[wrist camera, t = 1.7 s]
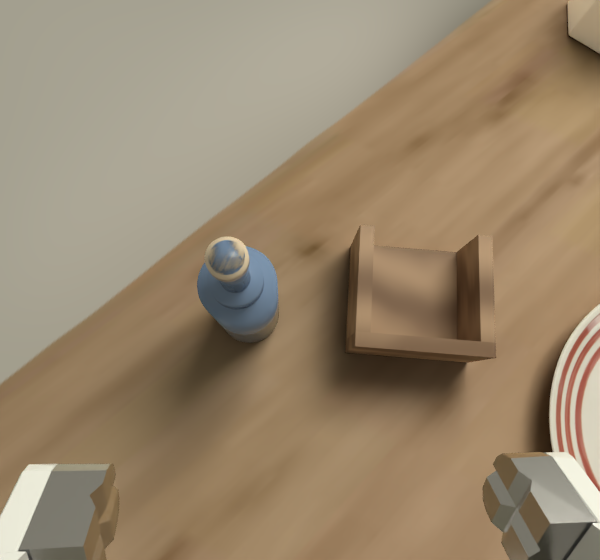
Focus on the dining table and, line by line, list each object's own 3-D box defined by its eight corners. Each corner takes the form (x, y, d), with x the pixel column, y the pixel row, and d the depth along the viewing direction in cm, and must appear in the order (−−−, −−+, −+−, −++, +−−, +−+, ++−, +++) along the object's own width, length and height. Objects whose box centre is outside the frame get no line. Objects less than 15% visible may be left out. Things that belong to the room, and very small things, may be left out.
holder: (350, 246, 44) (360, 224, 38) (465, 255, 44) (492, 235, 38) (345, 352, 41) (355, 346, 36) (467, 362, 42) (496, 357, 36)
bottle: (289, 305, 42) (294, 243, 25) (258, 354, 41) (239, 325, 24) (242, 275, 43) (214, 194, 25) (209, 322, 42) (156, 271, 24)
